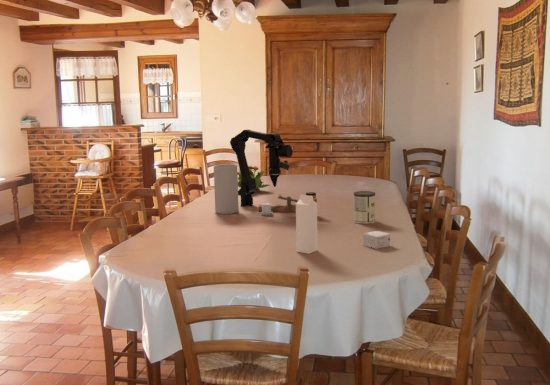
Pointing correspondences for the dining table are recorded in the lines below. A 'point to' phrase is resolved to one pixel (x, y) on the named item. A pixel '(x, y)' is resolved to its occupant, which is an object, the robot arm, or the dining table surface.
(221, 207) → the cylinder vase
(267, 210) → the cap block
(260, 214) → the rubber mat
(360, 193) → the coffee can
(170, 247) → the dining table surface
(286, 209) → the plane body
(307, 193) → the condiment
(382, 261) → the dining table surface
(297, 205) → the milk
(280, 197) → the lever
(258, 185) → the potted flower
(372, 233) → the small box
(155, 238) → the dining table surface
